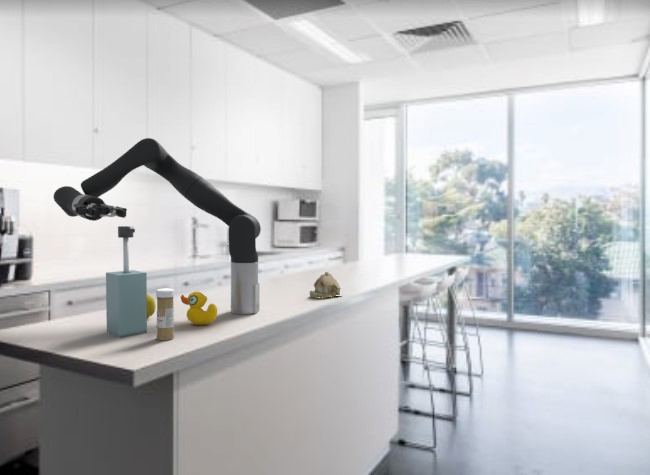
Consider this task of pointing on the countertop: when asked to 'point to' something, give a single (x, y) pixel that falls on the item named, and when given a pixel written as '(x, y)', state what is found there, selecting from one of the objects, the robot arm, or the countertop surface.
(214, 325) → the countertop surface
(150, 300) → the lemon
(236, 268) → the robot arm
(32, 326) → the countertop surface
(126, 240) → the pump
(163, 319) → the sprinkles bottle
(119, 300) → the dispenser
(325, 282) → the ceramic model
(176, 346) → the countertop surface
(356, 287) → the countertop surface
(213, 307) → the duckling
